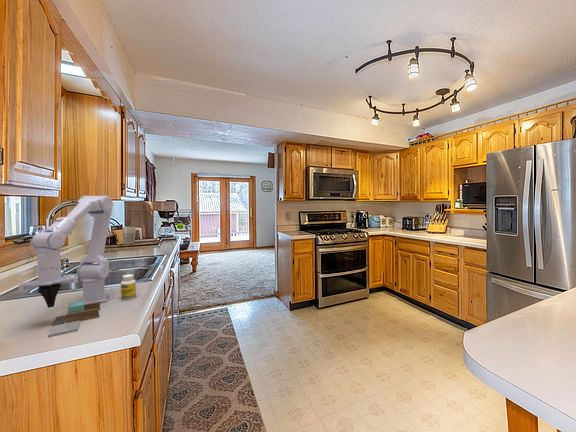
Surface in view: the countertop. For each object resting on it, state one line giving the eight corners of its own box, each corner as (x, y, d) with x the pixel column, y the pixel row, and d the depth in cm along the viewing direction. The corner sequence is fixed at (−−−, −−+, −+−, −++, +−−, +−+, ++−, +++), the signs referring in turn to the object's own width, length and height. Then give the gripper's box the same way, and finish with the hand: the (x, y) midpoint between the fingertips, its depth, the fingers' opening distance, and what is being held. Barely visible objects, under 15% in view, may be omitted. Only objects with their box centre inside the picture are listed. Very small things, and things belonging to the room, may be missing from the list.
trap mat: (56, 317, 89) (56, 316, 89) (67, 315, 91) (67, 314, 91) (51, 326, 83) (51, 324, 83) (63, 323, 85) (63, 322, 85)
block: (70, 316, 90) (69, 303, 90) (84, 314, 92) (84, 301, 92) (68, 321, 87) (67, 307, 87) (83, 318, 89) (82, 304, 89)
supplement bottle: (119, 301, 105) (119, 278, 104) (122, 296, 109) (121, 274, 109) (134, 299, 107) (134, 276, 106) (136, 294, 112) (136, 273, 111)
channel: (69, 314, 92) (69, 306, 91) (100, 309, 97) (99, 301, 96) (65, 323, 85) (65, 315, 85) (98, 317, 90) (98, 309, 90)
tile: (53, 327, 82) (52, 325, 82) (80, 322, 86) (80, 320, 86) (47, 337, 77) (47, 335, 77) (77, 330, 81) (77, 328, 80)
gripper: (14, 273, 77) (16, 316, 78) (75, 266, 86) (77, 305, 86) (21, 268, 83) (24, 308, 84) (78, 262, 91) (79, 299, 92)
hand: (51, 306), depth 86 cm, fingers closed
